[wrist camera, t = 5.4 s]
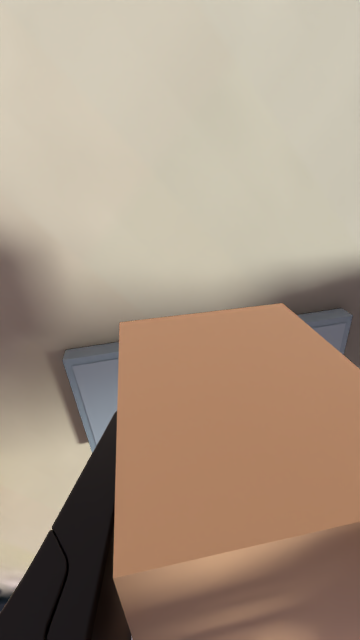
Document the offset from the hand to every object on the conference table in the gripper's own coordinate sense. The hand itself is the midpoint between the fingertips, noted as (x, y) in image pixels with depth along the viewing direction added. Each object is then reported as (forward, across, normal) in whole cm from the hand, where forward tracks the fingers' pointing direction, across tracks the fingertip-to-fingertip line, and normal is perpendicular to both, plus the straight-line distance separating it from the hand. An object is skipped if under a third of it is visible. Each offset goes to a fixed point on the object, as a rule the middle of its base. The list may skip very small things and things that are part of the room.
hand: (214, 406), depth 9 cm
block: (+1, 0, 0) cm, 1 cm away
